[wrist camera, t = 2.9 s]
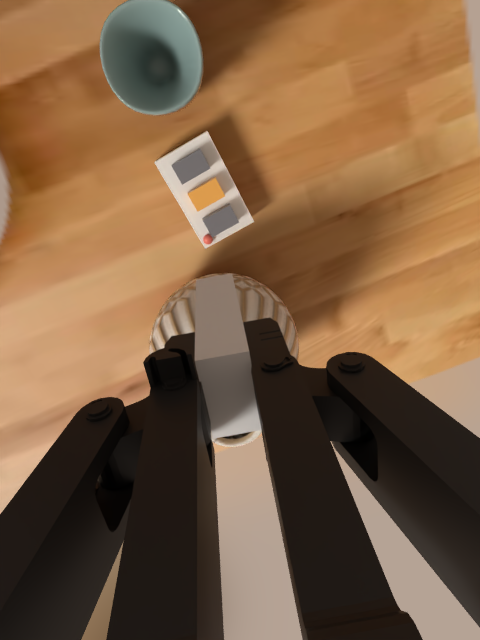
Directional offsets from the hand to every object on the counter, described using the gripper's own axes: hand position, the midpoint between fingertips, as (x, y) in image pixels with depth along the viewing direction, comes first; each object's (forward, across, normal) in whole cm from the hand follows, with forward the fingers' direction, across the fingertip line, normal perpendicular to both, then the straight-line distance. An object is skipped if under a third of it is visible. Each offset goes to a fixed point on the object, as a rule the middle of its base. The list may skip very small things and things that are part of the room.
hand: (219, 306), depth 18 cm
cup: (+32, -2, +12) cm, 34 cm away
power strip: (+32, 0, 0) cm, 32 cm away
